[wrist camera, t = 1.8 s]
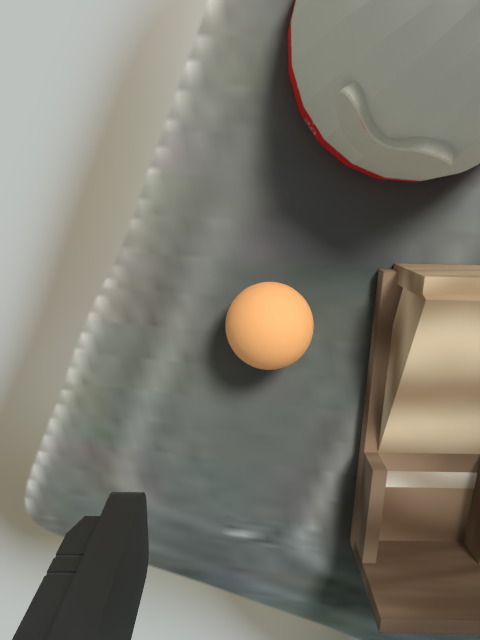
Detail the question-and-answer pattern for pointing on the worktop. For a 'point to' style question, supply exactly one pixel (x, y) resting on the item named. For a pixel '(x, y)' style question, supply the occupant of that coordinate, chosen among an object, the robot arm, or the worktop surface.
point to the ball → (269, 325)
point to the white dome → (390, 83)
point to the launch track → (422, 452)
